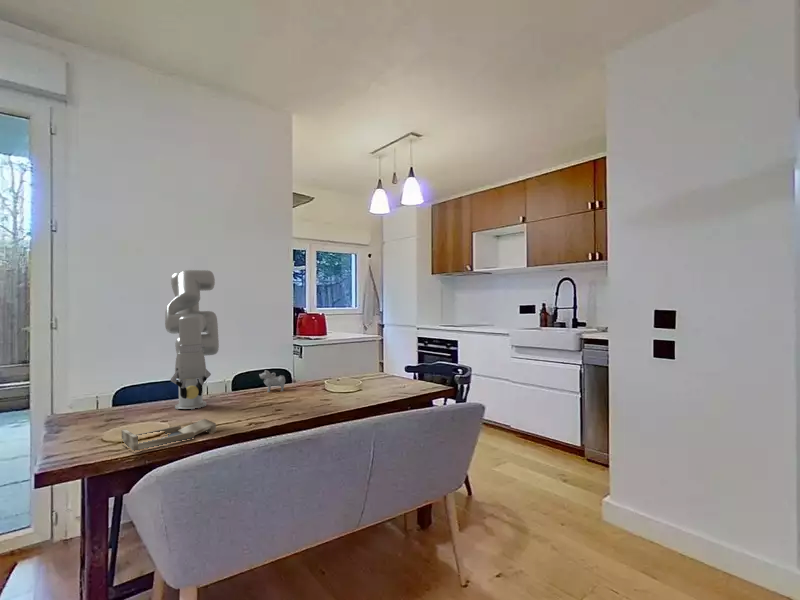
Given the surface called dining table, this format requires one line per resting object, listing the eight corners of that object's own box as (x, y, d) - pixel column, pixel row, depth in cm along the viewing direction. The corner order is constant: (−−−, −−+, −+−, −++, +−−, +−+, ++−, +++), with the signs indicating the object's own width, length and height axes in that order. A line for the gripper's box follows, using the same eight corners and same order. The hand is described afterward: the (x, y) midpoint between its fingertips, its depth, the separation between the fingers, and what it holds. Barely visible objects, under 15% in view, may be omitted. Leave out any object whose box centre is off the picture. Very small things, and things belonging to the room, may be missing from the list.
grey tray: (121, 445, 154) (121, 430, 154) (179, 432, 167) (179, 418, 167) (134, 453, 145) (133, 437, 145) (194, 439, 159) (193, 424, 159)
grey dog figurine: (260, 390, 237) (259, 369, 237) (285, 389, 239) (285, 368, 239) (258, 392, 232) (258, 371, 232) (285, 391, 234) (284, 370, 234)
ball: (182, 398, 176) (181, 385, 176) (195, 396, 180) (195, 383, 179) (187, 401, 173) (187, 388, 172) (201, 398, 176) (200, 385, 176)
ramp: (205, 427, 172) (204, 418, 172) (216, 432, 166) (216, 423, 166) (177, 433, 165) (177, 424, 165) (187, 439, 159) (187, 429, 159)
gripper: (208, 345, 184) (209, 390, 185) (162, 350, 171) (164, 398, 172) (217, 347, 179) (217, 394, 180) (170, 352, 166) (172, 402, 167)
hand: (191, 395), depth 176 cm, fingers closed on ball, 4 cm apart
